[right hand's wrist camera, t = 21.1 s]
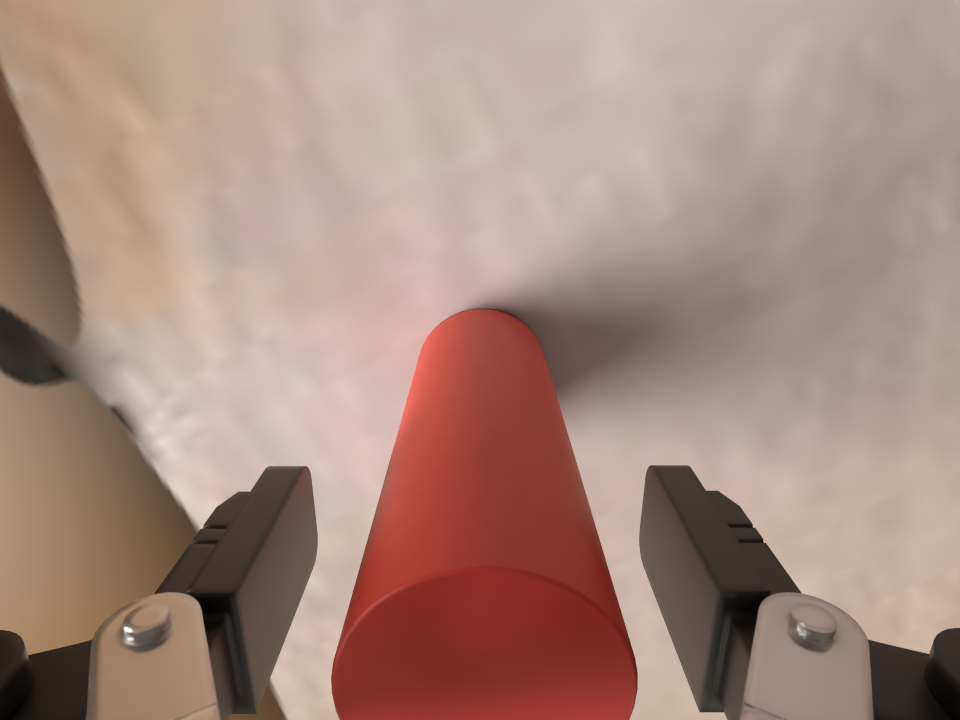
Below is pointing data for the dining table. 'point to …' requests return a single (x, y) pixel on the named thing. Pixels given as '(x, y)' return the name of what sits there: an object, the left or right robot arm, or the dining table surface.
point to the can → (483, 552)
